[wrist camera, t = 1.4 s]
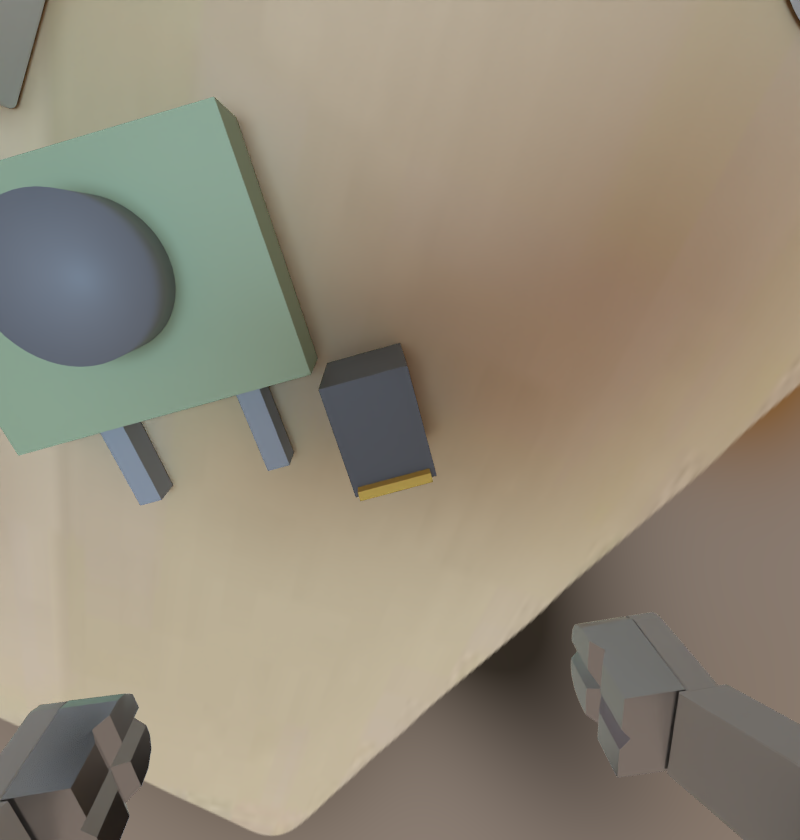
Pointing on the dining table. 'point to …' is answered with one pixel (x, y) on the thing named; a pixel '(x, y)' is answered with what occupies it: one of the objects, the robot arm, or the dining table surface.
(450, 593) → the dining table surface
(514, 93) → the dining table surface
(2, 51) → the medicine bottle
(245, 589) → the dining table surface
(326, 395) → the grey block yellow strip
